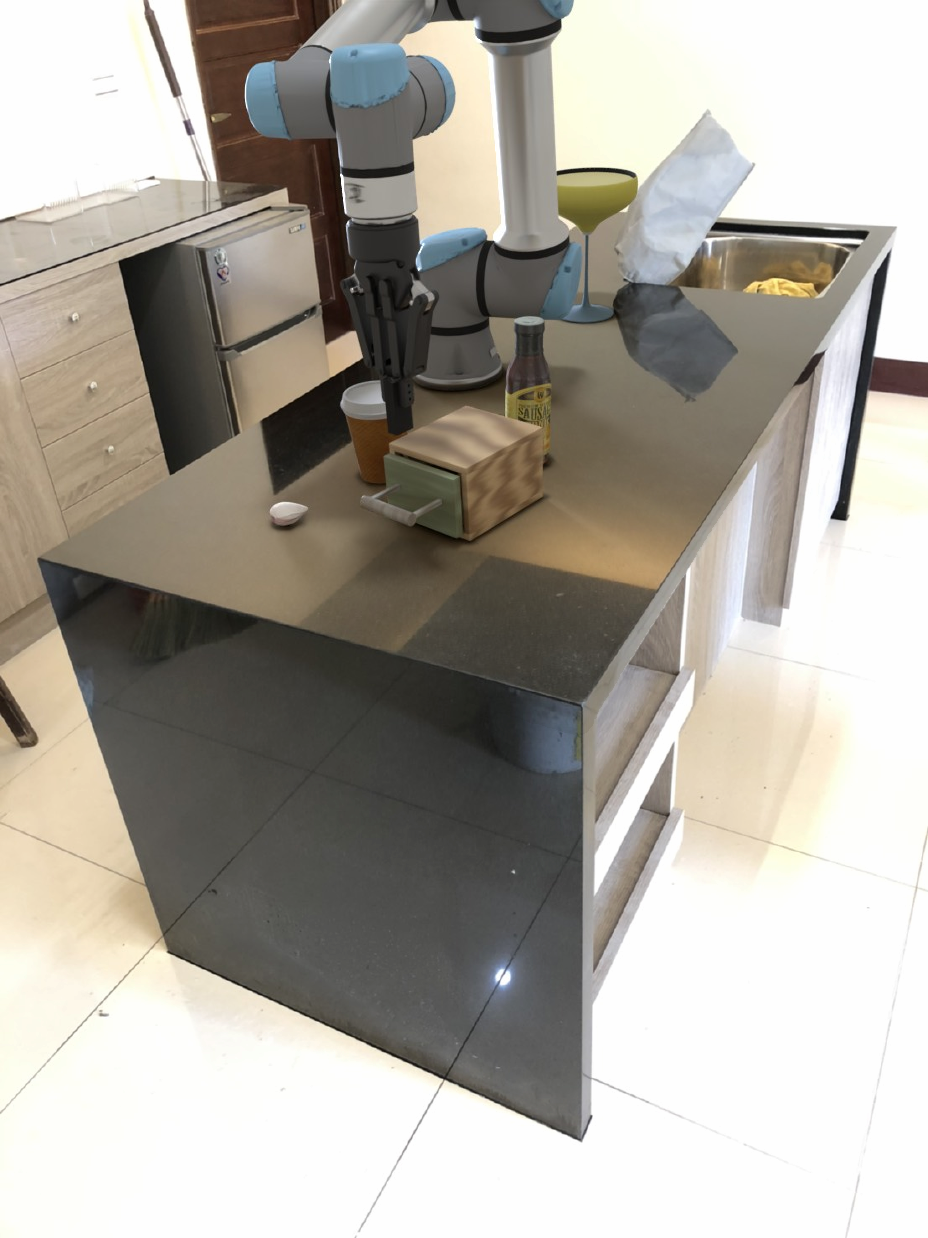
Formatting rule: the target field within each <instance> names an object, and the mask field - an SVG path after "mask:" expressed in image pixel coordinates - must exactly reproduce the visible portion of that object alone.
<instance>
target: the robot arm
mask: <svg viewBox="0 0 928 1238" xmlns="http://www.w3.org/2000/svg"><path fill="white" fill-rule="evenodd" d="M574 3H575V0H345V1H344V2H343V4H341V5H340V7H338V9H337V10H336V11H335V12H334V13H333V14H332V15H331V16H330V17H329V18H328V19H327V20H326V21H325V22H324V23H323V24H322V25H321V26H320V27H319V28H318V29H317V30H316V31H315V32H314V33H313V34H312V36H310V37H309V38H308V40H306V42H305V43H304V44H302V45H301V47H300V48H298V49H297V51H296V52H295V53H294V54H293V55H292V56H290V58H289V59H287V60H284V61H279V60H276V59H275V60H271V61H266V62H259V63H255V64H254V65H253V66H252V67H251V69H250V70H249V72H248V73H247V77H246V81H245V87H244V99H245V106H246V109H247V113H248V116H249V117H248V118H249V120H250V122H251V124H252V125H253V128H254V129H255V130H256V131H257V132H258V133H259V134H260V135H261V136H263V137H266V138H276V139H287V140H288V141H293V140H303V139H305V140H306V139H307V140H308V139H310V140H313V139H317V140H318V139H336V141H337V142H336V143H337V148H338V158H339V170H340V178H341V188H342V189H341V190H342V197H343V207H344V214H345V215H346V216H347V217H348V218H350V219H349V220H348V221H347V223H346V224H345V227H346V228H345V229H346V238H347V248H348V254H349V256H350V257H351V259H353V260H354V261H355V263H354V267H353V272H354V273H353V274H352V275H350V276H349V277H347V278H344V279H341V280H340V282H339V287H340V289H341V291H342V293H343V295H344V297H345V299H346V301H347V304H348V308H349V311H350V314H351V318H352V322H353V325H354V326H353V327H354V331H355V333H356V337H357V341H358V344H359V349H360V353H361V355H362V360H363V364H364V366H365V367H366V368H367V369H371V368H372V369H373V370H374V371H375V373H376V375H377V376H379V381H380V384H381V392H382V393H381V395H382V399H383V402H385V406H386V416H387V426H388V433H390V434H393V435H396V436H398V435H400V434H402V433H404V432H406V431H407V432H409V431H410V430H412V429H414V419H413V418H414V417H413V408H412V407H413V406H412V405H414V403H415V390H414V382H415V383H416V384H417V385H419V386H421V387H423V388H425V389H426V388H427V389H430V390H436V391H451V392H452V391H454V392H455V391H466V390H467V391H468V390H472V389H478V388H483V387H485V386H488V385H490V384H493V383H495V382H496V381H498V380H499V379H500V378H501V377H502V375H503V361H502V359H501V356H500V354H499V353H498V352H499V351H498V348H497V345H496V344H495V340H494V337H493V334H492V331H491V327H490V318H498V319H499V318H500V319H514V320H515V319H517V318H520V317H527V316H532V317H540V318H542V319H544V321H561V320H563V318H565V317H566V316H567V315H568V314H569V312H570V311H571V309H572V307H573V306H574V305H575V300H576V298H577V294H578V291H579V290H578V289H579V285H580V280H581V275H582V268H583V266H582V265H583V249H582V245H581V244H580V243H579V242H577V241H572V242H571V241H570V228H569V226H568V225H567V224H566V223H565V222H564V221H563V220H562V219H561V218H559V215H558V195H557V171H558V170H557V151H556V149H557V148H556V130H555V129H556V127H555V126H556V125H555V106H554V105H555V104H554V101H555V100H554V80H553V77H554V76H553V57H552V55H553V54H552V44H553V42H554V41H555V40H556V38H557V37H558V36H559V34H560V33H561V32H562V28H563V25H562V24H563V23H562V20H563V19H565V18H567V17H568V16H569V15H570V14H571V13H572V12H573V11H572V10H573V8H574ZM466 21H467V22H469V21H470V22H473V24H474V26H473V27H474V37H475V41H476V42H477V43H478V44H480V45H481V46H482V48H484V49H485V51H486V52H487V55H488V56H487V57H488V66H489V67H488V68H489V69H488V70H489V81H490V93H491V104H492V106H491V107H492V116H493V117H492V118H493V129H494V141H495V143H494V144H495V153H496V166H497V177H498V178H497V179H498V191H499V201H500V203H499V204H500V215H501V224H500V225H499V226H498V227H497V229H496V230H495V232H494V233H493V240H491V239H490V240H489V239H488V234H487V231H486V230H485V229H484V228H481V227H461V228H455V229H450V230H445V231H440V232H438V233H434V234H431V235H429V236H426V237H425V238H422V239H420V238H421V237H420V222H419V219H418V218H417V216H416V215H414V213H416V212H417V210H418V208H419V207H418V197H417V183H416V174H415V171H416V170H415V167H416V166H415V155H414V154H415V153H414V140H417V139H420V138H422V137H427V136H430V134H433V133H435V131H437V130H438V129H439V128H440V127H442V126H443V125H444V124H445V123H446V122H447V121H448V120H449V118H450V117H451V115H452V113H453V110H454V108H455V103H456V96H457V95H456V94H457V93H456V86H455V82H454V79H453V77H452V75H451V72H450V71H449V69H448V68H447V67H446V66H445V64H444V63H443V62H441V61H440V60H438V59H437V58H435V57H433V56H430V55H425V54H416V55H415V54H408V55H407V53H406V51H405V49H404V48H403V46H401V45H400V43H401V42H402V41H403V39H404V38H405V37H406V36H407V35H411V34H415V33H417V32H419V31H421V30H422V29H423V28H425V27H426V25H427V24H431V23H440V22H466Z"/></svg>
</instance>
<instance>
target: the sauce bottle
mask: <svg viewBox="0 0 928 1238" xmlns="http://www.w3.org/2000/svg"><path fill="white" fill-rule="evenodd" d="M545 321H546V320H544V319H542V318H540V317H532V316H527V317H520V318H517V319H514V321H513V331H514V334H515V337H514V339H515V340H514V341H515V342H514V356H513V358H512V359H511V360H510V362H509V363H508V366H507V369H506V374H505V375H506V376H505V379H506V380H505V383H506V384H505V385H506V386H505V393H504V394H505V402H504V403H505V404H504V407H505V409H504V413H505V414H504V415H505V417H508V418H512V419H515V420H519V421H522V422H526V423H530V424H533V425H537V426H540V427H542V443H543V465H544V464H546V463H547V462H548V459H549V452H550V449H551V448H550V447H551V445H550V444H551V411H552V410H551V409H552V408H551V407H552V379H551V373H550V369H549V364H548V361H547V360H546V357H545V354H544V351H545V350H544V333H545V330H546V325H545V323H546V322H545Z"/></svg>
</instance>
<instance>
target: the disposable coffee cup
mask: <svg viewBox="0 0 928 1238" xmlns="http://www.w3.org/2000/svg"><path fill="white" fill-rule="evenodd" d="M381 393H382V392H381V384H380V380H369V381H363V382H360V383H356V384H353V385H351V386H349V387H348V388H346V389H345V390H344V392H343V393H342V398H341V401H340V403H339V404H340V405H339V407H340V408H341V410H342V411H343V413H344V414H345V418H346V422H347V423H346V424H347V427H348V430H349V434H350V438H351V442H352V445H353V450H354V454H355V457H356V461H357V466H358V470H359V474H360V477H361V479H362V480H363V481H364V482H367V483H371V484H386V476H385V467H384V457H383V456H385V455H387V454H389V453H390V449H389V443H391V442H393V441H395V440H397V439H399V438H401V437H403V436H405V435H407V434H408V431H406V432H404V433H402V434H400V435H398V436H396V435H393V434H390V433H388V426H387V416H386V406H385V402H383V399H382V395H381Z"/></svg>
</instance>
